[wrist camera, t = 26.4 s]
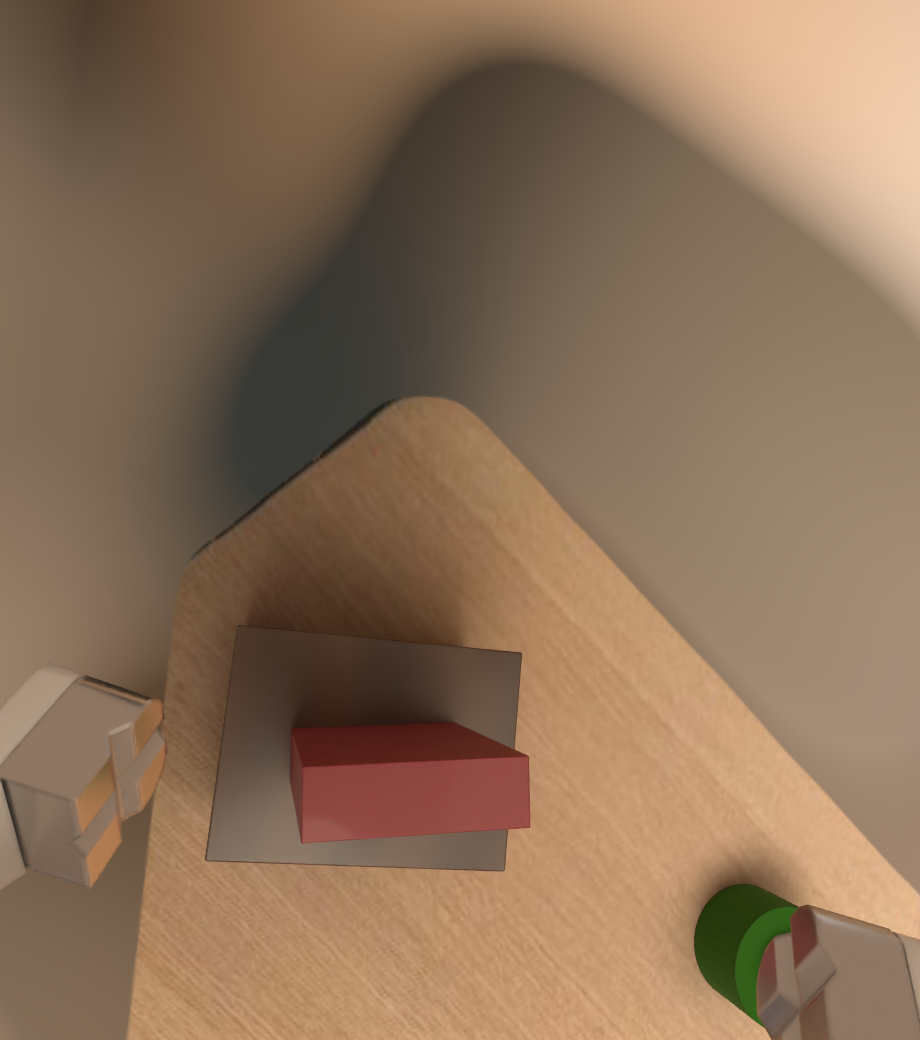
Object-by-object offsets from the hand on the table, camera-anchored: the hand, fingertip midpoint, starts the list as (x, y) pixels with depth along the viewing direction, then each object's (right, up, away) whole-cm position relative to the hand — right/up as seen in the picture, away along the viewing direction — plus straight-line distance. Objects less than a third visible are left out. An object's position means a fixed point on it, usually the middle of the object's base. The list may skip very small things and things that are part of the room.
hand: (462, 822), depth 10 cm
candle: (+22, -28, +52) cm, 63 cm away
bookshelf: (-8, -11, +47) cm, 49 cm away
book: (-5, -9, +34) cm, 35 cm away
